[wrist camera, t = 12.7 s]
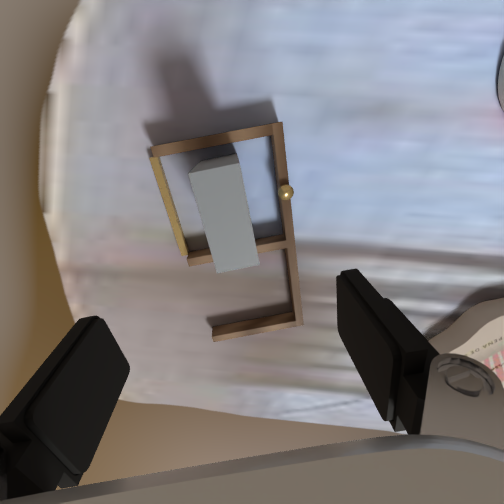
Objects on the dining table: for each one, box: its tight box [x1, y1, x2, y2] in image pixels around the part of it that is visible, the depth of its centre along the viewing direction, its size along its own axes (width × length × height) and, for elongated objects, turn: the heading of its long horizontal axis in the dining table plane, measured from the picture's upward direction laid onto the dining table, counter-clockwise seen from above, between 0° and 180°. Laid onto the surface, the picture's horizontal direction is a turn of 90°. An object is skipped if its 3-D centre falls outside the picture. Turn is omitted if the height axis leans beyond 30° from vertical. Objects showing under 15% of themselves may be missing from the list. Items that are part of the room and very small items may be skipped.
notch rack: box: [150, 122, 304, 342], centre depth 31 cm, size 14×26×3 cm, turn 10°
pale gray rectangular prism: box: [188, 153, 260, 273], centre depth 25 cm, size 4×9×9 cm, turn 11°
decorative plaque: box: [428, 298, 504, 388], centre depth 44 cm, size 30×4×30 cm
